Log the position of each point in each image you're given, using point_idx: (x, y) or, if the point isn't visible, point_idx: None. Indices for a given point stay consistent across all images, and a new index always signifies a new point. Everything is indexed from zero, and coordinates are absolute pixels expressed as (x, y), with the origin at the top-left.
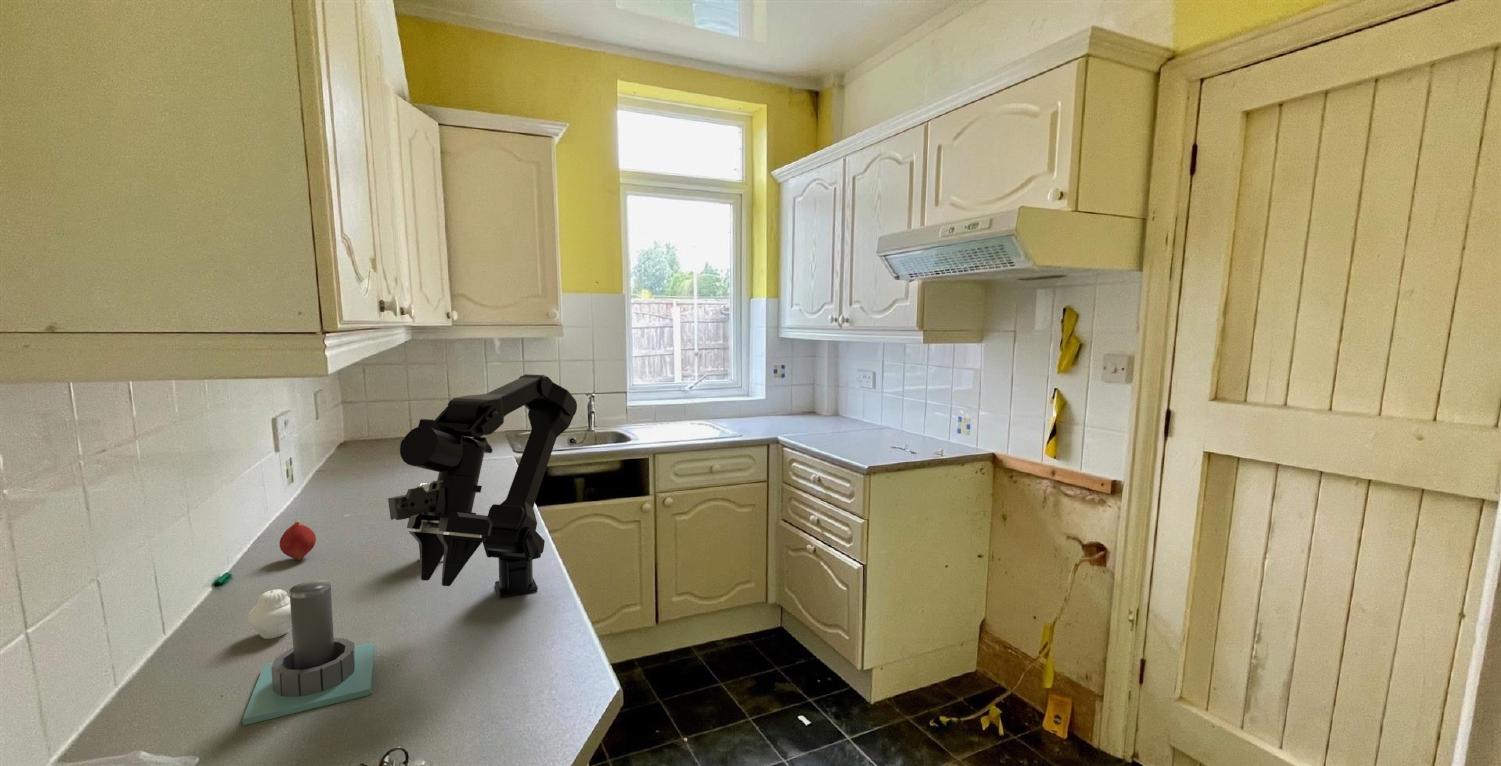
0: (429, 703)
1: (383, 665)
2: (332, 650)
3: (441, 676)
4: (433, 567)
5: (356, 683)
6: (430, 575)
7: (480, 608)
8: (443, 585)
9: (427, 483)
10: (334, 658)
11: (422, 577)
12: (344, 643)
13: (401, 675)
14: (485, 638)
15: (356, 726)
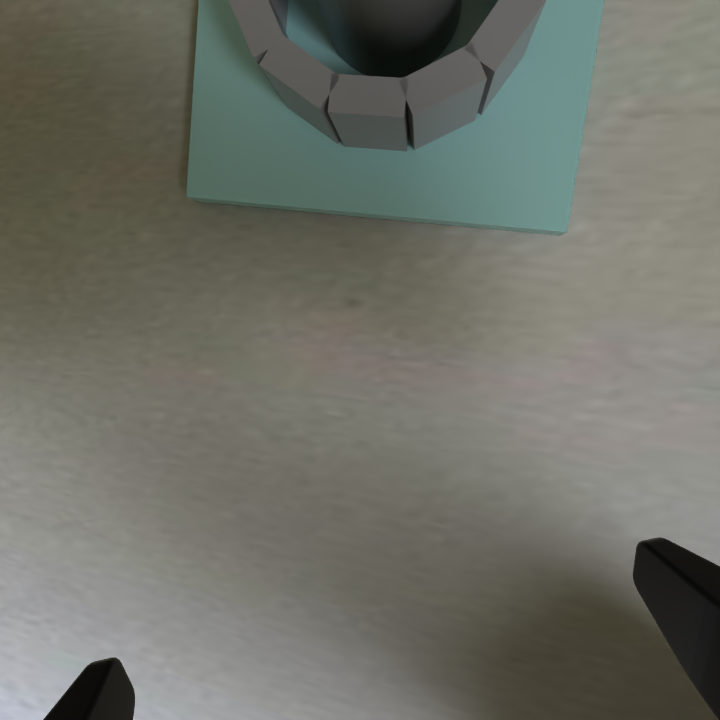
0: (54, 358)
1: (380, 254)
2: (347, 12)
3: (190, 418)
4: (716, 695)
5: (247, 152)
6: (658, 618)
7: (665, 669)
8: (94, 664)
9: None
10: (374, 47)
11: (652, 555)
12: (430, 73)
13: (269, 304)
14: (373, 607)
15: (39, 154)
